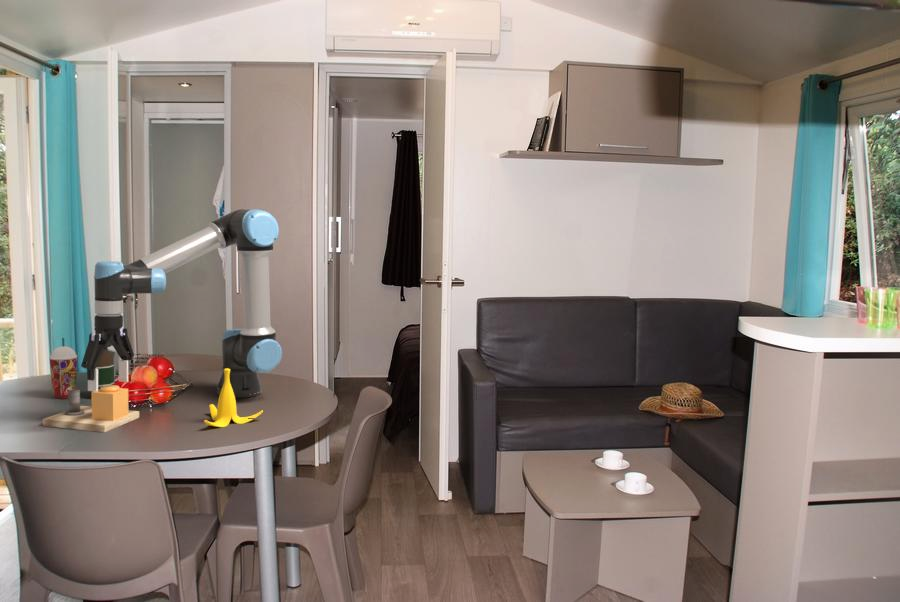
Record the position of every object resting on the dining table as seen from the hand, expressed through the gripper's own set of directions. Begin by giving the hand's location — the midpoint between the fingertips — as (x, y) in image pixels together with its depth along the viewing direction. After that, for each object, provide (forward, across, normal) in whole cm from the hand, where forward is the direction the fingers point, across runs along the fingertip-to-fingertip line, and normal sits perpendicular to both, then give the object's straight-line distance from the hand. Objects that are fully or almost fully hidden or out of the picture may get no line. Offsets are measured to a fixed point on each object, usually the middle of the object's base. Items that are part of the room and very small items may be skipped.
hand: (108, 386), depth 210 cm
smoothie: (+12, -22, -33) cm, 42 cm away
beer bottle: (+11, -26, -22) cm, 36 cm away
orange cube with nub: (+9, 0, 0) cm, 9 cm away
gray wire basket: (+11, -56, -32) cm, 66 cm away
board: (+11, 0, -6) cm, 13 cm away
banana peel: (+11, -10, +31) cm, 34 cm away
